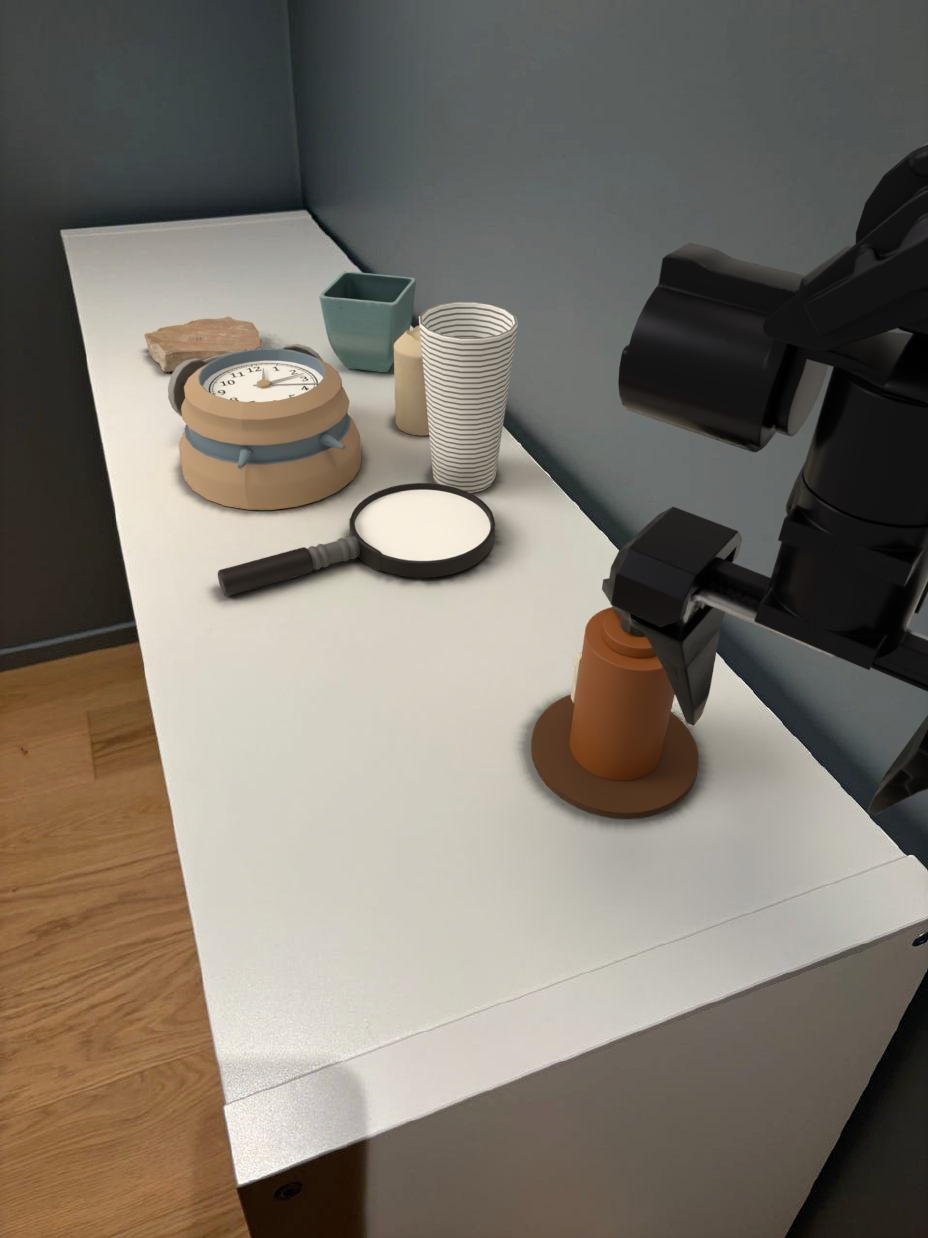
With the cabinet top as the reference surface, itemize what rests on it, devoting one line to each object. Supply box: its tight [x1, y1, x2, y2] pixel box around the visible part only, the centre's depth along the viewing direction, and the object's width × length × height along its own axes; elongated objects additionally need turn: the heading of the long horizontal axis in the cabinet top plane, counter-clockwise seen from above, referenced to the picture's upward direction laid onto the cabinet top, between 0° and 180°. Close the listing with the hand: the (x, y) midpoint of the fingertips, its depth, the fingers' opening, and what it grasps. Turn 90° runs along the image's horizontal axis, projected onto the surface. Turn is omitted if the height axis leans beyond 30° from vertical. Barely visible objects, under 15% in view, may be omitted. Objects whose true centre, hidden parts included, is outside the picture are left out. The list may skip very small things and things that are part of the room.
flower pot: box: [318, 271, 417, 373], centre depth 105 cm, size 9×9×9 cm
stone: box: [143, 316, 263, 372], centre depth 107 cm, size 13×12×2 cm
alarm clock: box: [167, 343, 362, 511], centre depth 89 cm, size 17×9×23 cm
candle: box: [393, 325, 429, 436], centre depth 93 cm, size 6×6×10 cm
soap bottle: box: [570, 577, 676, 781], centre depth 58 cm, size 7×6×11 cm
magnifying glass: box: [217, 482, 496, 597], centre depth 77 cm, size 12×24×2 cm, turn 119°
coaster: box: [530, 694, 700, 819], centre depth 61 cm, size 11×11×1 cm
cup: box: [418, 301, 519, 494], centre depth 83 cm, size 8×8×16 cm
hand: (779, 761), depth 45 cm, fingers open, 9 cm apart
